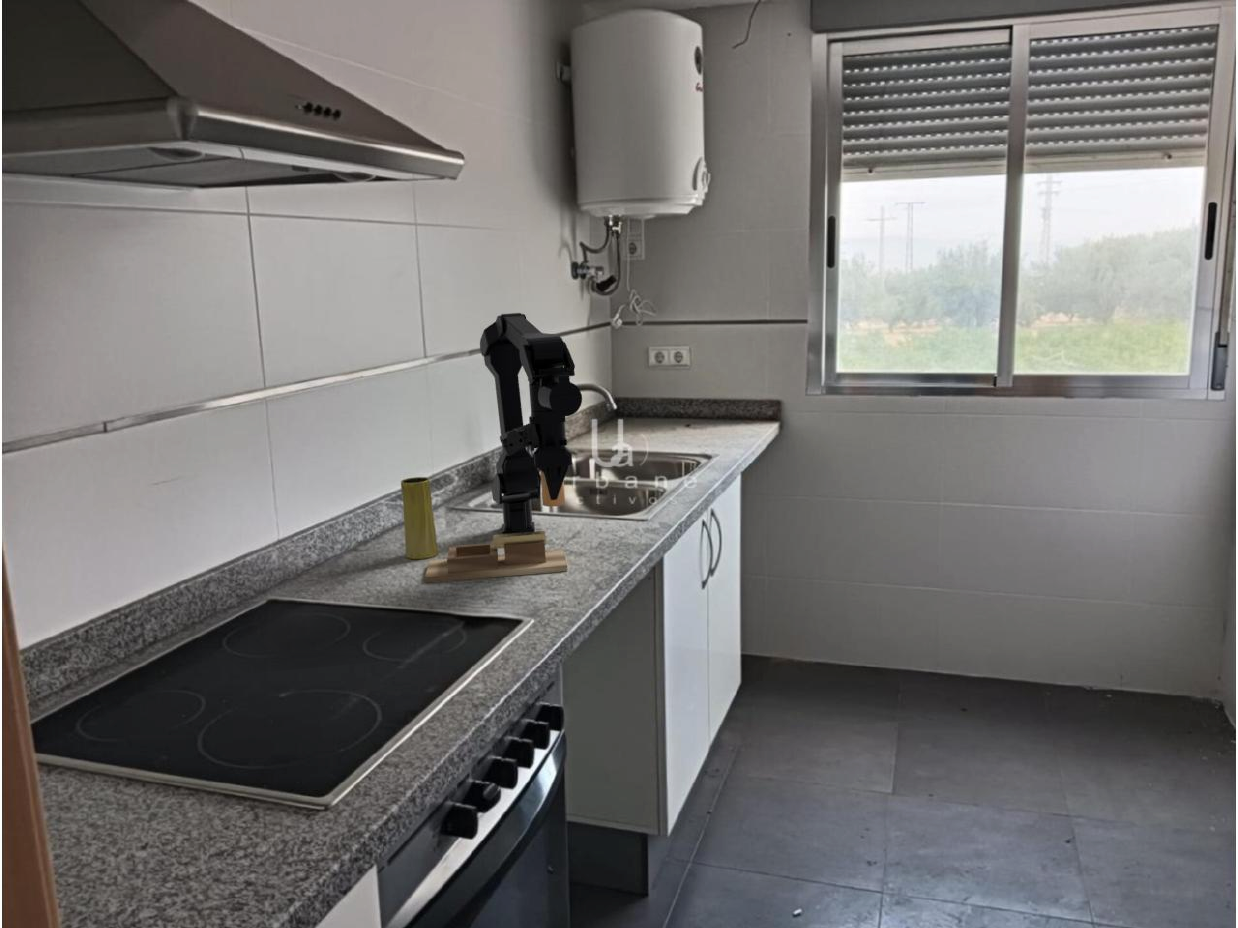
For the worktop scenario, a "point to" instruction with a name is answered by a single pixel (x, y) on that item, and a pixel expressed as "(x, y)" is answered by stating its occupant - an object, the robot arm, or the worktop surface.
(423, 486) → the vase
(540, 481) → the robot arm
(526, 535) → the bar
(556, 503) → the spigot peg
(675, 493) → the worktop surface
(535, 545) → the dock board
